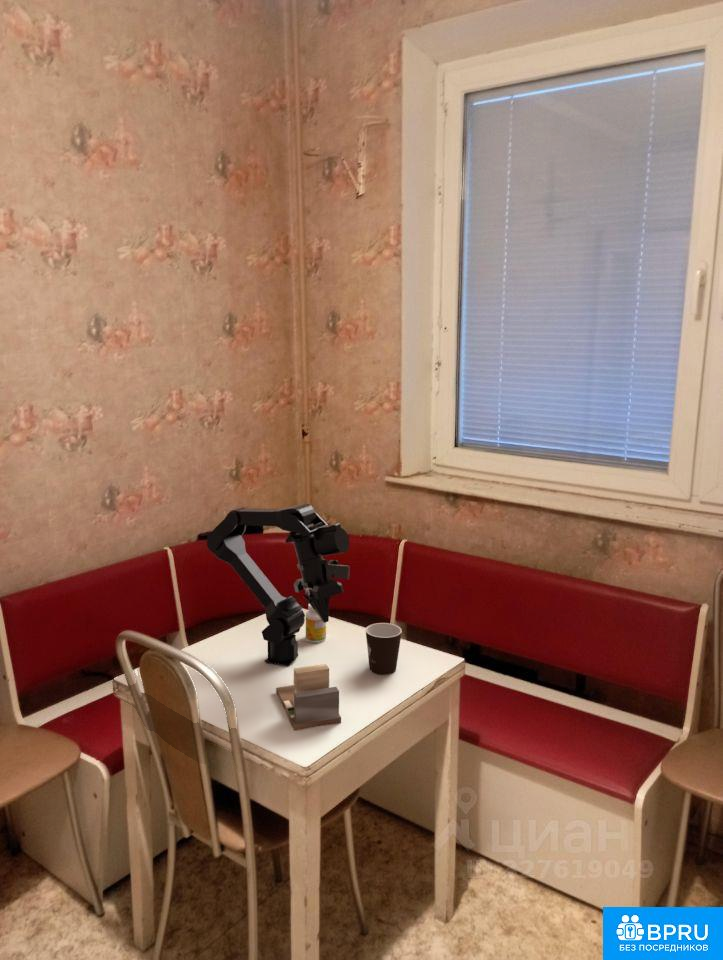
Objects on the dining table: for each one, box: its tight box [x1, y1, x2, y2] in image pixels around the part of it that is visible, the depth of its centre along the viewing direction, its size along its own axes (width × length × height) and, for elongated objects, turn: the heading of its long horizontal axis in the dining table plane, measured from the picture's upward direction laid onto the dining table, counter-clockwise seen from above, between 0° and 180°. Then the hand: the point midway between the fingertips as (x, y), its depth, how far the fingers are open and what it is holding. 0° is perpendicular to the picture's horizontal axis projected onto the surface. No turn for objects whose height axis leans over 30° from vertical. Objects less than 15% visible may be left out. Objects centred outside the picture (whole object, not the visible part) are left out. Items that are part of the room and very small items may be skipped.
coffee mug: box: [365, 622, 403, 676], centre depth 174 cm, size 12×9×10 cm
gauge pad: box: [288, 663, 330, 711], centre depth 151 cm, size 2×9×9 cm, turn 109°
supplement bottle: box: [305, 603, 327, 644], centre depth 189 cm, size 5×5×10 cm
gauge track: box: [275, 684, 342, 731], centre depth 154 cm, size 16×10×7 cm, turn 19°
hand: (326, 621), depth 169 cm, fingers closed
